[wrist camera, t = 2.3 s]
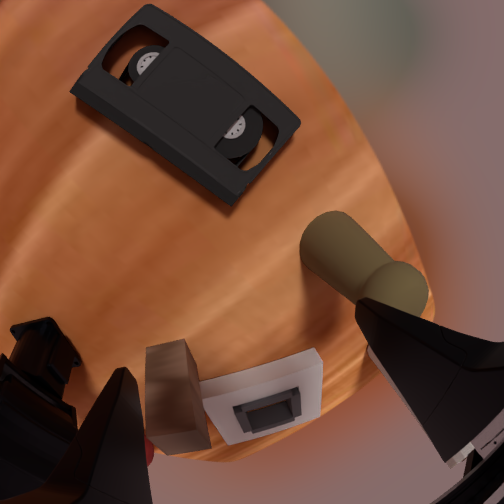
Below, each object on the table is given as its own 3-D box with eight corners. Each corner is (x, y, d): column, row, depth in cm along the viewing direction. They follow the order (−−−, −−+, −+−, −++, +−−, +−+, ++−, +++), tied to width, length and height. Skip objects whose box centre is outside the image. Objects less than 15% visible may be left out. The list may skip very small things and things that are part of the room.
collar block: (224, 431, 35) (228, 448, 32) (195, 382, 28) (199, 403, 26) (313, 404, 37) (321, 419, 35) (314, 347, 30) (324, 365, 28)
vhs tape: (292, 122, 20) (303, 122, 18) (226, 199, 21) (231, 206, 19) (149, 11, 13) (147, 1, 11) (78, 94, 14) (69, 91, 13)
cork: (358, 259, 26) (432, 326, 17) (304, 281, 26) (367, 365, 16) (355, 202, 23) (447, 258, 14) (294, 222, 23) (373, 298, 13)
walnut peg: (161, 372, 27) (167, 455, 18) (146, 347, 25) (146, 437, 16) (196, 364, 27) (211, 448, 18) (184, 338, 25) (196, 429, 17)
